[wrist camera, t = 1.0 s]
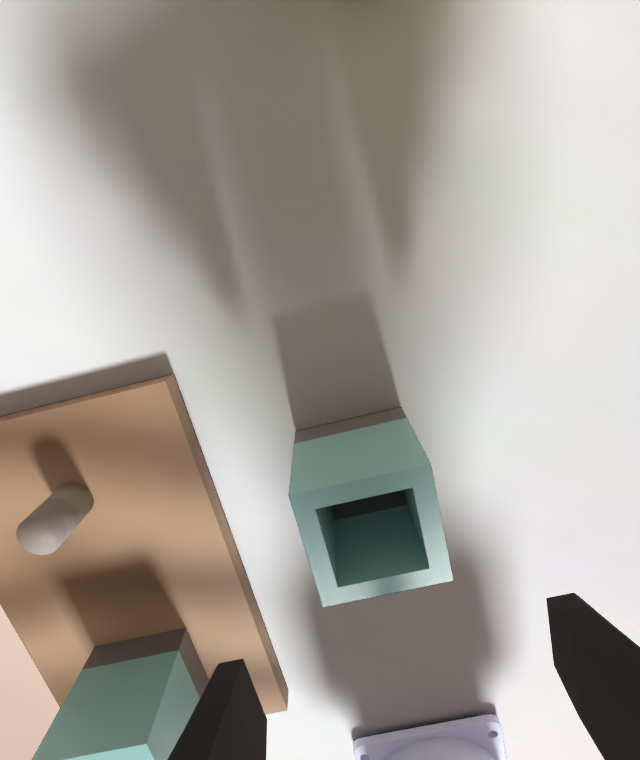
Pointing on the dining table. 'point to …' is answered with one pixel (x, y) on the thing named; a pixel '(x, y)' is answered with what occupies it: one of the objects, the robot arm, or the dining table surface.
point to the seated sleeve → (128, 701)
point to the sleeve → (367, 508)
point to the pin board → (121, 537)
